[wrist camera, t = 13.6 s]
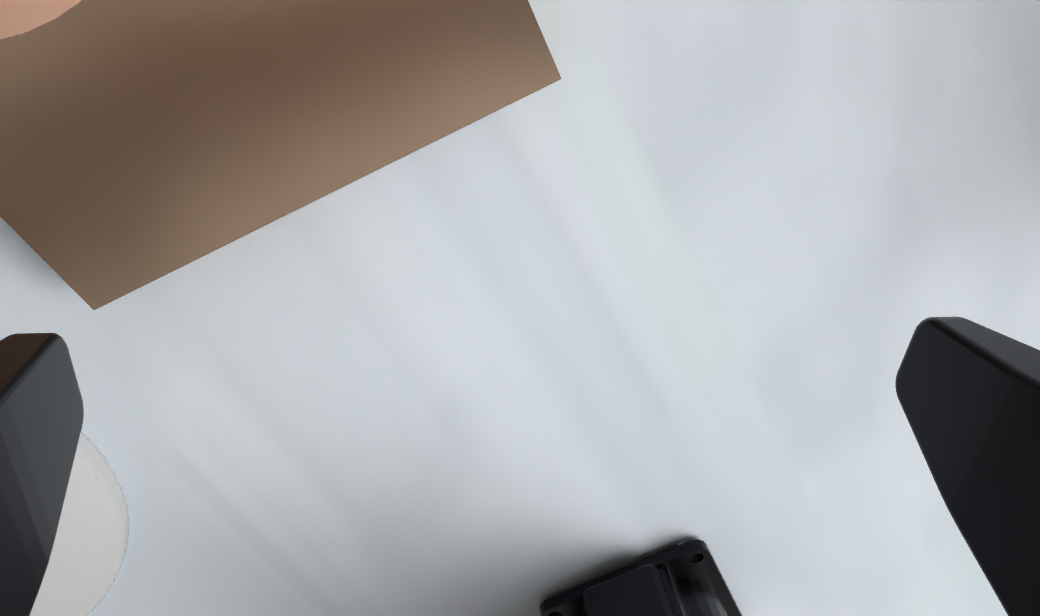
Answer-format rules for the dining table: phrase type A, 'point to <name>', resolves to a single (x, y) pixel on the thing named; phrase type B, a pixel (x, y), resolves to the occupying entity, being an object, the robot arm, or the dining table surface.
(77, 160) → the post board
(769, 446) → the dining table surface
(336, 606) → the dining table surface
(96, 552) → the candlestick
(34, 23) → the cap
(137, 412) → the dining table surface
